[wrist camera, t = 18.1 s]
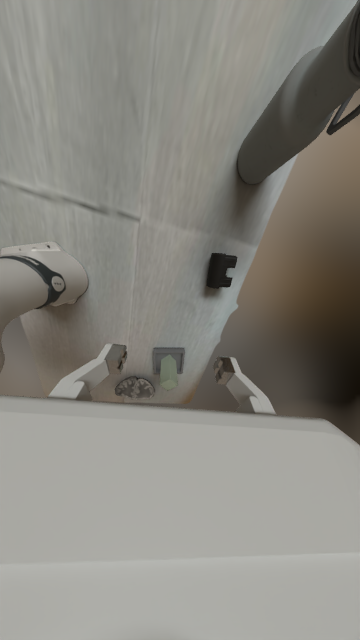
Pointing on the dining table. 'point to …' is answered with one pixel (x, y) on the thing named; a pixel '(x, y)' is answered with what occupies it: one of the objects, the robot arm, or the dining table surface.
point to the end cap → (220, 270)
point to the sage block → (168, 373)
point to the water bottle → (305, 103)
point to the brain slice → (135, 388)
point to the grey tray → (164, 352)
